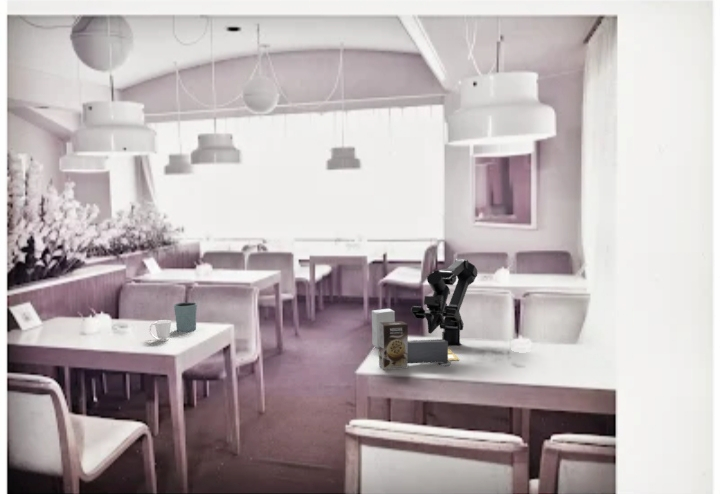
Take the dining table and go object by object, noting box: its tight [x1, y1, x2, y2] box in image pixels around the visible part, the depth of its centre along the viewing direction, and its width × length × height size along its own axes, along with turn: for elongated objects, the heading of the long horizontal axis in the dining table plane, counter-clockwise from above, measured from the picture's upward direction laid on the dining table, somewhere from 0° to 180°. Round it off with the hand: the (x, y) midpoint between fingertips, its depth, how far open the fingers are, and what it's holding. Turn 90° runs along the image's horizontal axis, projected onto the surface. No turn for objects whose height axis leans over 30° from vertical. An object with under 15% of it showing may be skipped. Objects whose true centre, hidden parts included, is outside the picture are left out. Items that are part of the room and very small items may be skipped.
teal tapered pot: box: [173, 302, 198, 333], centre depth 291 cm, size 10×10×12 cm
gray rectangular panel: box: [407, 338, 449, 364], centre depth 230 cm, size 16×2×8 cm, turn 96°
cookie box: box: [378, 320, 409, 371], centre depth 228 cm, size 9×6×16 cm
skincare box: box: [371, 308, 396, 349], centre depth 258 cm, size 8×6×15 cm
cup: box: [148, 319, 172, 342], centre depth 272 cm, size 7×10×8 cm
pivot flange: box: [437, 361, 452, 367], centre depth 231 cm, size 5×5×1 cm
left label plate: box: [448, 353, 460, 362], centre depth 240 cm, size 6×8×1 cm
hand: (429, 333), depth 241 cm, fingers closed
